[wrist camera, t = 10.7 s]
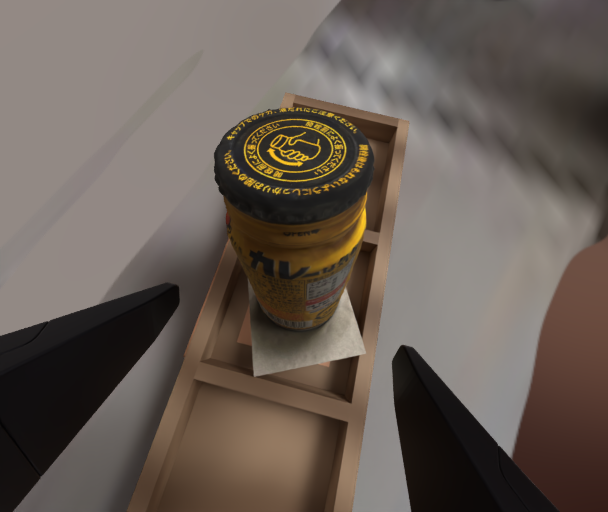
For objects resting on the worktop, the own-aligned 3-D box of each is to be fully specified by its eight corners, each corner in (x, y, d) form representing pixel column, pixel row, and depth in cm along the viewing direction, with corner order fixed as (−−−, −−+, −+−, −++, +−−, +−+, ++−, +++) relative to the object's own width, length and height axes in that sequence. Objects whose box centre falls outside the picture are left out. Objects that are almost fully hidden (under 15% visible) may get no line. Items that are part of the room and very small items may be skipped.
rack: (314, 640, 13) (320, 725, 11) (117, 578, 14) (71, 644, 11) (396, 145, 24) (409, 121, 22) (284, 119, 25) (283, 92, 22)
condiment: (333, 248, 20) (364, 84, 9) (365, 354, 15) (491, 265, 5) (246, 262, 19) (177, 102, 9) (254, 377, 14) (133, 331, 4)
